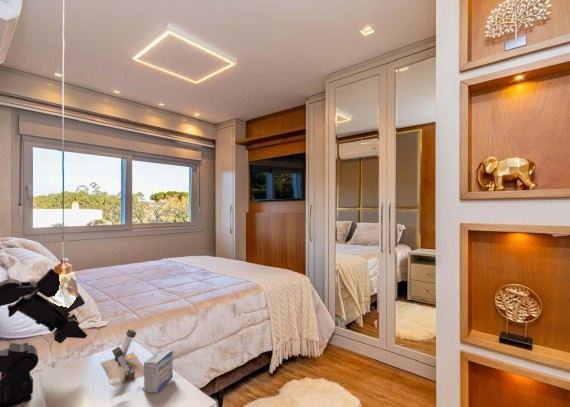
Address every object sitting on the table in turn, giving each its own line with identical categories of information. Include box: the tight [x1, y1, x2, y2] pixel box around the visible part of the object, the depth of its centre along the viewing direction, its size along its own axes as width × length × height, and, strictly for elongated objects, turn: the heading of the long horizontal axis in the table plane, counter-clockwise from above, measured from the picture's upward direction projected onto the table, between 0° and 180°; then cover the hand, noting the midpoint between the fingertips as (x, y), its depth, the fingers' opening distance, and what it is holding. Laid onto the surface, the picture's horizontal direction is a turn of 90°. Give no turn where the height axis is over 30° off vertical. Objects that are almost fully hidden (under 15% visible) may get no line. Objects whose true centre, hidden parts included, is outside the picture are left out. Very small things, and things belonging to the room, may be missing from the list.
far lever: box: [120, 329, 137, 358], centre depth 99 cm, size 2×3×9 cm, turn 43°
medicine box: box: [143, 349, 174, 394], centre depth 87 cm, size 8×4×9 cm, turn 168°
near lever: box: [111, 346, 131, 377], centre depth 88 cm, size 2×3×9 cm, turn 44°
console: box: [100, 352, 144, 388], centre depth 93 cm, size 10×18×4 cm, turn 43°
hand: (86, 336), depth 92 cm, fingers closed
